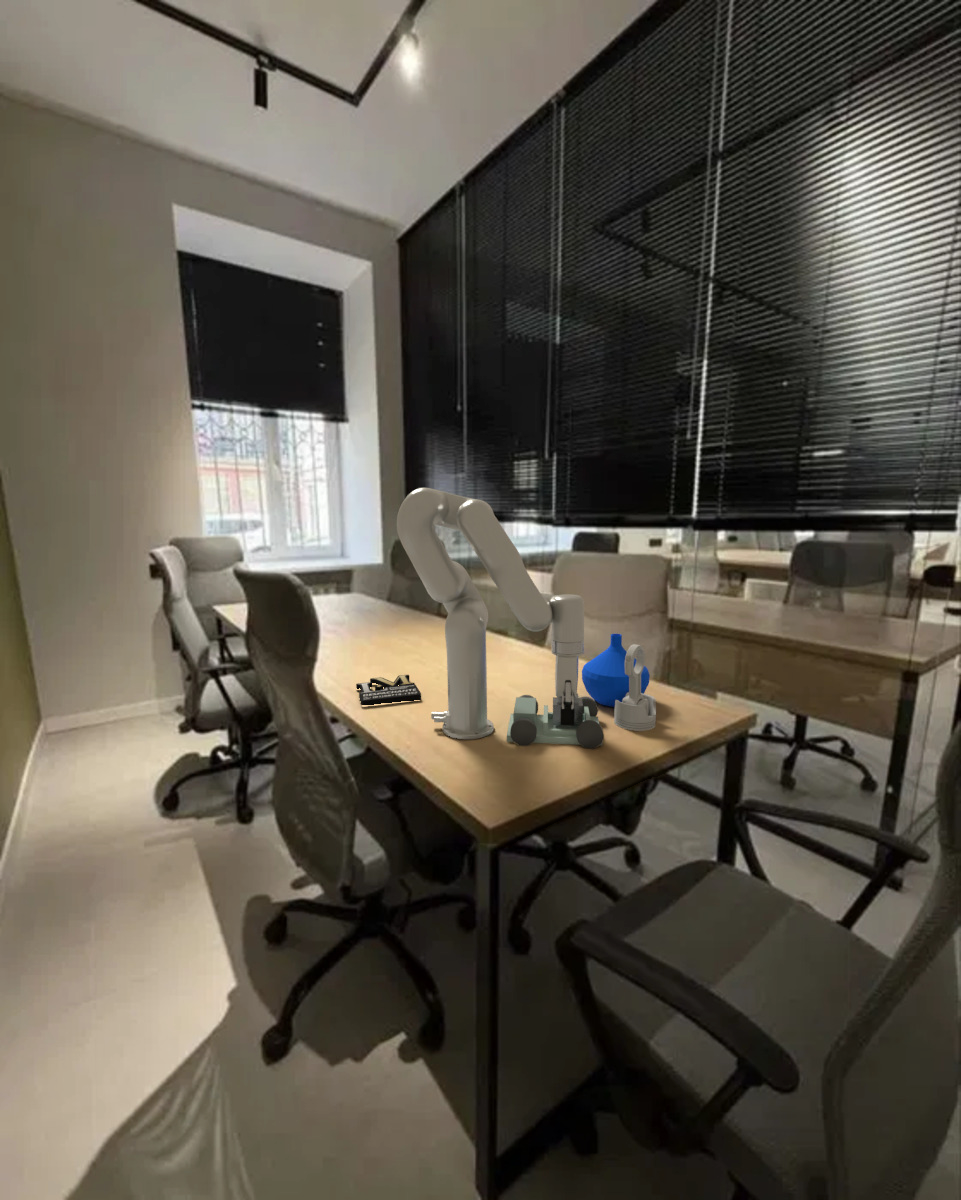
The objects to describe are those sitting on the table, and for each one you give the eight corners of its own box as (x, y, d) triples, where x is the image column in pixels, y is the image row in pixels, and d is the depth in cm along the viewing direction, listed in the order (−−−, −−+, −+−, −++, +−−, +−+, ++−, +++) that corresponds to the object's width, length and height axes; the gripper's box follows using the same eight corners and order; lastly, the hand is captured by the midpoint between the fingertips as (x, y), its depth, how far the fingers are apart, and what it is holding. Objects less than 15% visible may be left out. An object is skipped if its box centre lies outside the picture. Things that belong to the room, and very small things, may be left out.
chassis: (505, 745, 127) (505, 718, 126) (511, 716, 144) (511, 692, 143) (603, 749, 124) (604, 721, 123) (596, 719, 142) (597, 695, 141)
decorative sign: (361, 700, 152) (354, 679, 170) (361, 709, 152) (355, 687, 171) (421, 693, 157) (408, 674, 176) (422, 702, 157) (409, 681, 176)
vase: (593, 687, 167) (594, 625, 164) (655, 696, 158) (657, 631, 155) (571, 706, 151) (572, 638, 148) (639, 717, 142) (641, 645, 139)
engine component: (661, 721, 140) (624, 712, 146) (665, 643, 136) (627, 637, 143) (644, 735, 131) (605, 725, 138) (647, 652, 128) (607, 645, 134)
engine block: (552, 725, 131) (553, 699, 130) (552, 716, 137) (552, 691, 136) (582, 726, 130) (583, 699, 129) (581, 717, 136) (581, 692, 135)
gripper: (551, 638, 139) (551, 706, 142) (551, 656, 123) (551, 733, 125) (581, 638, 138) (580, 707, 141) (586, 656, 122) (585, 734, 125)
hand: (567, 718), depth 133 cm, fingers closed on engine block, 5 cm apart
